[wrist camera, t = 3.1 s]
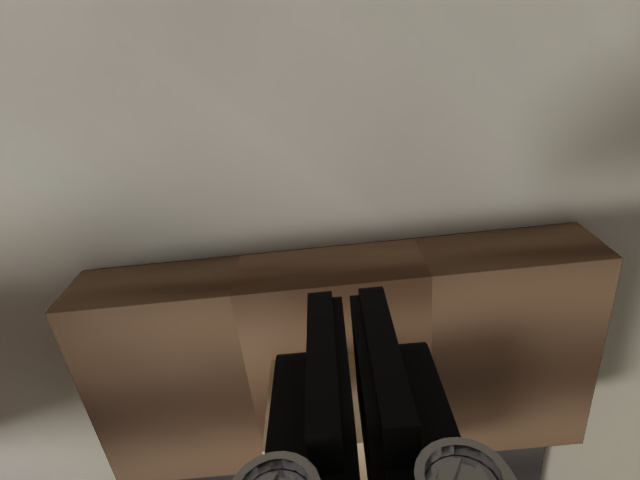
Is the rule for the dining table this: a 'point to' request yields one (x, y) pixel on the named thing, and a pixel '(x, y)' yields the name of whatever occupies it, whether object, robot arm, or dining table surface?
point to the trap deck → (291, 333)
